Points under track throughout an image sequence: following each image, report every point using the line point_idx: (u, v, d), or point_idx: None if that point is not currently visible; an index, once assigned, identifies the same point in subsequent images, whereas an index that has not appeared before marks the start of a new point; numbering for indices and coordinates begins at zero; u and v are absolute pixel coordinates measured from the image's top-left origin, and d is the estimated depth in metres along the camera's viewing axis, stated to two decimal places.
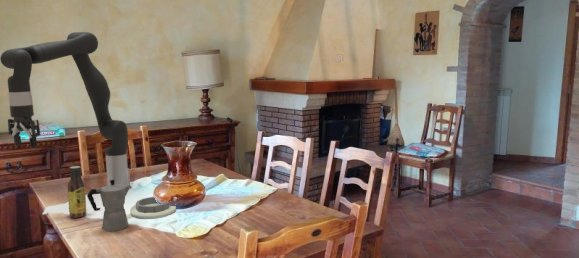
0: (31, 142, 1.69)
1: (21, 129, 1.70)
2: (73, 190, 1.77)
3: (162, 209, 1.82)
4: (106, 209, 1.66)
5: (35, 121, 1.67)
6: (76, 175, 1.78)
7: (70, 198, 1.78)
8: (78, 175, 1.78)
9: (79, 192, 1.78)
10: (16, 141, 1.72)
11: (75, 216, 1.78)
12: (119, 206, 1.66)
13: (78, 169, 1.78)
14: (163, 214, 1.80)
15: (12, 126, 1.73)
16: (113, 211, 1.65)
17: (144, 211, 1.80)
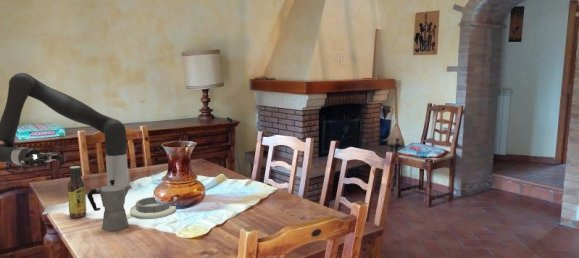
0: (40, 164, 1.79)
1: None
2: (73, 190, 1.77)
3: (162, 209, 1.82)
4: (106, 209, 1.66)
5: (21, 161, 1.80)
6: (76, 175, 1.78)
7: (70, 198, 1.78)
8: (78, 175, 1.78)
9: (79, 192, 1.78)
10: (59, 159, 1.87)
11: (75, 216, 1.78)
12: (119, 206, 1.66)
13: (78, 169, 1.78)
14: (163, 214, 1.80)
15: (53, 156, 1.91)
16: (113, 211, 1.65)
17: (144, 211, 1.80)
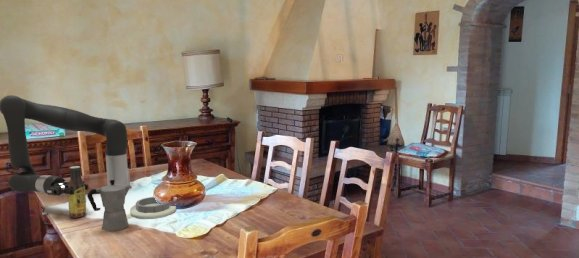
0: (68, 193, 1.76)
1: None
2: None
3: (162, 209, 1.82)
4: (106, 209, 1.66)
5: (47, 191, 1.77)
6: (76, 175, 1.78)
7: (70, 198, 1.78)
8: (78, 175, 1.78)
9: (79, 192, 1.78)
10: None
11: (75, 216, 1.78)
12: (119, 206, 1.66)
13: (78, 169, 1.78)
14: (163, 214, 1.80)
15: None
16: (113, 211, 1.65)
17: (144, 211, 1.80)
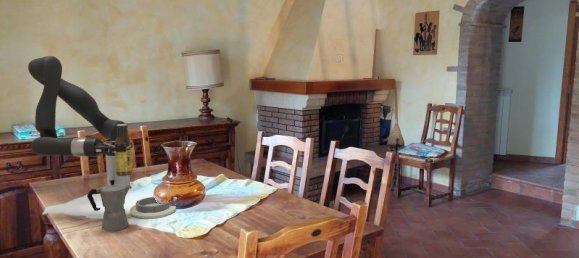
0: (120, 151, 1.74)
1: None
2: None
3: (162, 209, 1.82)
4: (106, 209, 1.66)
5: (96, 150, 1.71)
6: (125, 133, 1.76)
7: (120, 156, 1.75)
8: (126, 133, 1.77)
9: (129, 149, 1.77)
10: None
11: (125, 174, 1.77)
12: (119, 206, 1.66)
13: (126, 126, 1.76)
14: (163, 214, 1.80)
15: None
16: (113, 211, 1.65)
17: (144, 211, 1.80)
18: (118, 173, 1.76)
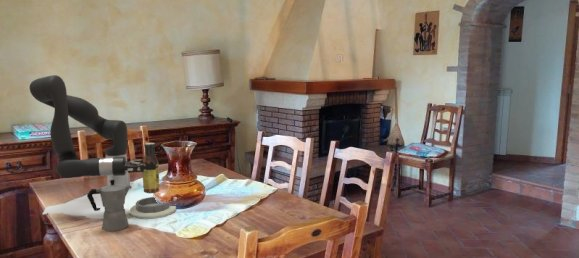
0: (150, 169, 1.80)
1: None
2: None
3: (162, 209, 1.82)
4: (106, 209, 1.66)
5: (128, 169, 1.75)
6: (153, 151, 1.82)
7: (150, 174, 1.81)
8: (154, 151, 1.83)
9: (157, 167, 1.83)
10: None
11: (154, 191, 1.82)
12: (119, 206, 1.66)
13: (154, 145, 1.82)
14: (163, 214, 1.80)
15: None
16: (113, 211, 1.65)
17: (144, 211, 1.80)
18: (147, 190, 1.82)
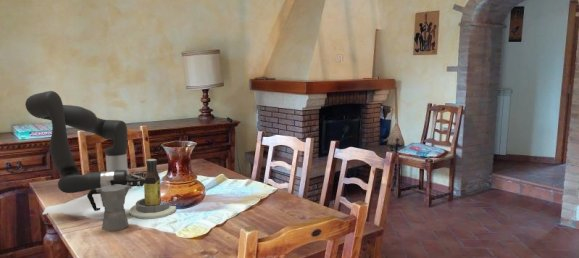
0: (150, 183, 1.80)
1: None
2: None
3: (162, 209, 1.82)
4: (106, 209, 1.66)
5: (128, 183, 1.76)
6: (155, 167, 1.83)
7: (151, 190, 1.82)
8: (156, 167, 1.84)
9: (159, 183, 1.84)
10: None
11: None
12: (119, 206, 1.66)
13: (156, 161, 1.84)
14: (163, 214, 1.80)
15: (139, 175, 1.89)
16: (113, 211, 1.65)
17: (144, 211, 1.80)
18: None
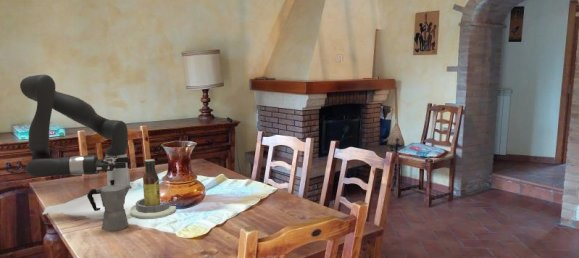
0: (120, 167, 1.77)
1: None
2: (153, 182, 1.82)
3: (162, 209, 1.82)
4: (106, 209, 1.66)
5: (97, 168, 1.73)
6: (154, 167, 1.83)
7: (150, 190, 1.82)
8: (154, 167, 1.84)
9: (158, 183, 1.84)
10: (124, 161, 1.85)
11: None
12: (119, 206, 1.66)
13: (154, 161, 1.83)
14: (163, 214, 1.80)
15: (110, 160, 1.86)
16: (113, 211, 1.65)
17: (144, 211, 1.80)
18: None
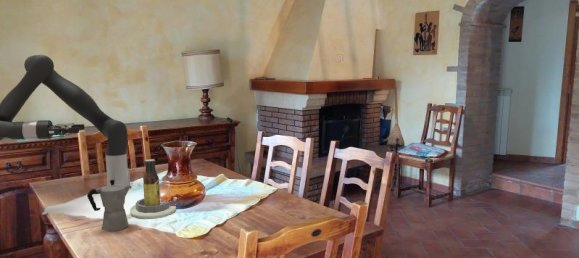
0: (73, 132, 1.79)
1: None
2: (153, 182, 1.82)
3: (162, 209, 1.82)
4: (106, 209, 1.66)
5: (49, 132, 1.75)
6: (154, 167, 1.83)
7: (150, 190, 1.82)
8: (154, 167, 1.84)
9: (158, 183, 1.84)
10: (79, 128, 1.87)
11: None
12: (119, 206, 1.66)
13: (154, 161, 1.84)
14: (163, 214, 1.80)
15: None
16: (113, 211, 1.65)
17: (144, 211, 1.80)
18: None
